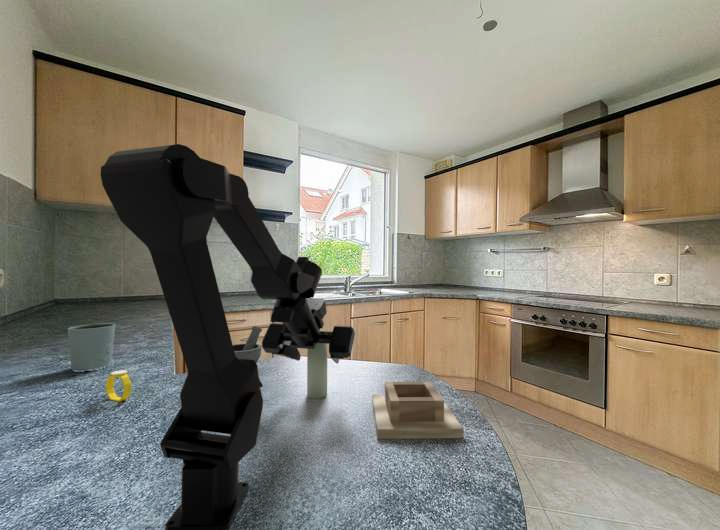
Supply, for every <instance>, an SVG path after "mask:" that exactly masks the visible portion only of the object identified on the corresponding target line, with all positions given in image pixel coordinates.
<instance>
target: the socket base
mask: <svg viewBox="0 0 720 530" xmlns="http://www.w3.org/2000/svg"><path fill="white" fill-rule="evenodd" d="M371 398H372V399H371V400H372V401H371V402H372V403H371V404H372V410H373V416H374V423H375V431H376V432H375V433H376V437H377V439H378V440H383V439H384V440H385V439H389V440H390V439H392V440H393V439H401V440H402V439H403V440H404V439H464V427H463V426H462V425H461V424H460V422H459V421H458V420H457V418H456V417H455V415H454V414H453V412H452V411H451V409H450V408H449V406H448V405H447V404H446V402H445V400H444V399H443V397H442V396H441V395H440V393H439V392H438V390H437V388H435V386H434V385H433V384H432V382H431V381H384V394H372V396H371Z"/></svg>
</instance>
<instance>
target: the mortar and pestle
mask: <svg viewBox="0 0 720 530" xmlns="http://www.w3.org/2000/svg"><path fill="white" fill-rule="evenodd" d="M262 331H263V330H262V328H261V327H260V326H256V325H254V326H252V327H251V331H250V334H249V336H248V338H247V340H246V342H245V343H238V344H237V343H236V344H235V343H234V344H232V345H233V349H234V353H235V355H236V357H237V358H239V359H250V360H254V361H255V362H256V364H257V363H258V362H259V360H260V357H261V354H262V344H258V339H259V336H260V333H262Z"/></svg>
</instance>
